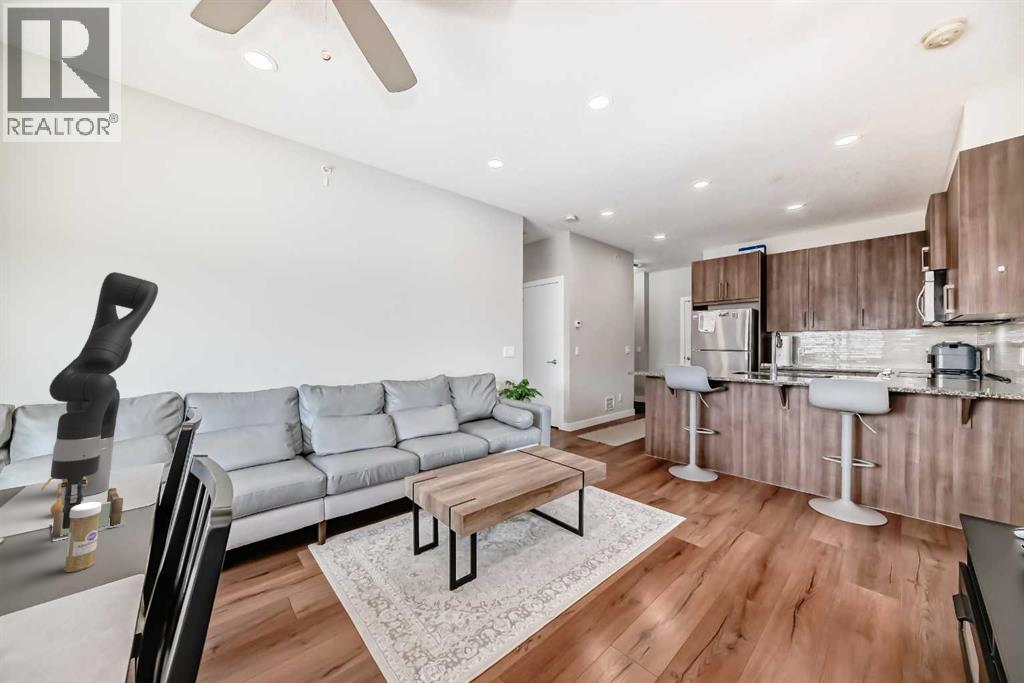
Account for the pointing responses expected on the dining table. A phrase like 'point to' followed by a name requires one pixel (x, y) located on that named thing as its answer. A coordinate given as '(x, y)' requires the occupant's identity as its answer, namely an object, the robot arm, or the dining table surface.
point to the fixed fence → (115, 507)
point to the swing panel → (60, 531)
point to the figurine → (58, 503)
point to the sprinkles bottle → (82, 536)
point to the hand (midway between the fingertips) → (69, 526)
